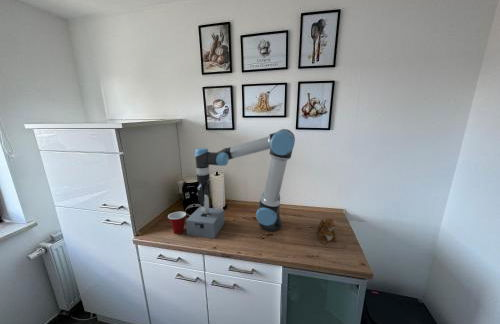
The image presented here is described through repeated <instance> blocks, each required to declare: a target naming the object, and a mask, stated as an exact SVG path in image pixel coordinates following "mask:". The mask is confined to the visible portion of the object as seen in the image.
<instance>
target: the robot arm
mask: <svg viewBox="0 0 500 324" xmlns="http://www.w3.org/2000/svg"><path fill="white" fill-rule="evenodd" d="M295 141H296V138H295V134H294V133H293V132H292V130H290V129H285V128H282V129H279V130H278V131H276V132H272V133H270V134H269V135H268V136H265V137H261V138H259V139H254V140H251V141H248V142H244V143H241V144H236V145H233V146H229V147H224V148H222V149H221V150H219V151H217V152H213V151H209V148H205V147H200V148H196V149H195V151H194V155H195V170H196V180H197V181H198V186H197V187H196V190H197V201H198V202H199V203H200V207H201V211H206V207H205V201H204V197H205V195H208V204H209V205H210V200H209V199H210V198H211V180H210V179H211V178H210V166H220V167H223V166H227V165H228V163H229V161H230V160H232V159H236V158H241V157H245V156H248V155H251V154H256V153H261V152H264V151H268V150H269V154H268V155H269V156H270V157H271V158H270V163H269V167H268V172H267V178H266V181H265V182H266V183H265V186H264V191H263V192H262V194H261V197H260V199H259V202H258V207H257V210H256V213H255V217H256V220H257V221H258V226H259V228H260V229H261V230H263V231H265V232H277V231H279V230H281V229H282V227H283V223H282V222H283V221H282V219H281V215H280V213H281V211H280V209H281V208H280V207H281V205H280V204H281V194H280V193H281V189H282V185H283V180H284V176H285V172H286V167H287V162H288V161H289V160H291V158H292V154H293V150H294V146H295Z"/></svg>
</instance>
